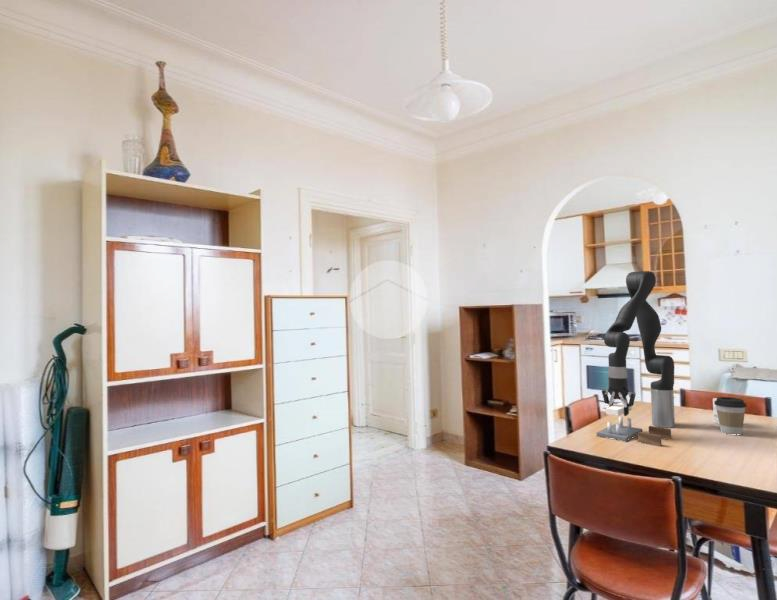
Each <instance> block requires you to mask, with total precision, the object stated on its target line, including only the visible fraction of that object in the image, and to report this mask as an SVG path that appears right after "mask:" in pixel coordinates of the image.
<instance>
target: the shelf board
mask: <svg viewBox="0 0 777 600" xmlns="http://www.w3.org/2000/svg"><path fill="white" fill-rule="evenodd" d="M632 407H633V406H631V407H629V412H631V411H633V410H632V409H633V408H632ZM605 414H606V415H609V416H616V417H620V416H621V415H624V405H623V403H622V402H618V403H615V404H613V406H611V407H606V408H605Z"/></svg>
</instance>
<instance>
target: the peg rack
mask: <svg viewBox="0 0 777 600" xmlns="http://www.w3.org/2000/svg"><path fill="white" fill-rule="evenodd" d="M626 422H627V423H626V424H627V425H624V418H623V417H622V416H618V423H613V424H612V422H610V421H607V423H606V424H607V426H606V428H604V429H601V430H600V431H598V432H596V437H599V436H601V437H600V438H604V437H608V438H607V439H609V438H614V439H619V440H618V441H620V440H624V441H623V442H625V441H626V442H628V441H629V440H628V439H630V438H631V439H633V438H635V437H637V436H638V432H643V428H641V427H635V426H632V418H630V417H628V418H626ZM636 435H637V436H636ZM634 436H635V437H634ZM632 437H633V438H632ZM614 439H613V440H614ZM631 439H630V440H631ZM627 440H628V441H627Z"/></svg>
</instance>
